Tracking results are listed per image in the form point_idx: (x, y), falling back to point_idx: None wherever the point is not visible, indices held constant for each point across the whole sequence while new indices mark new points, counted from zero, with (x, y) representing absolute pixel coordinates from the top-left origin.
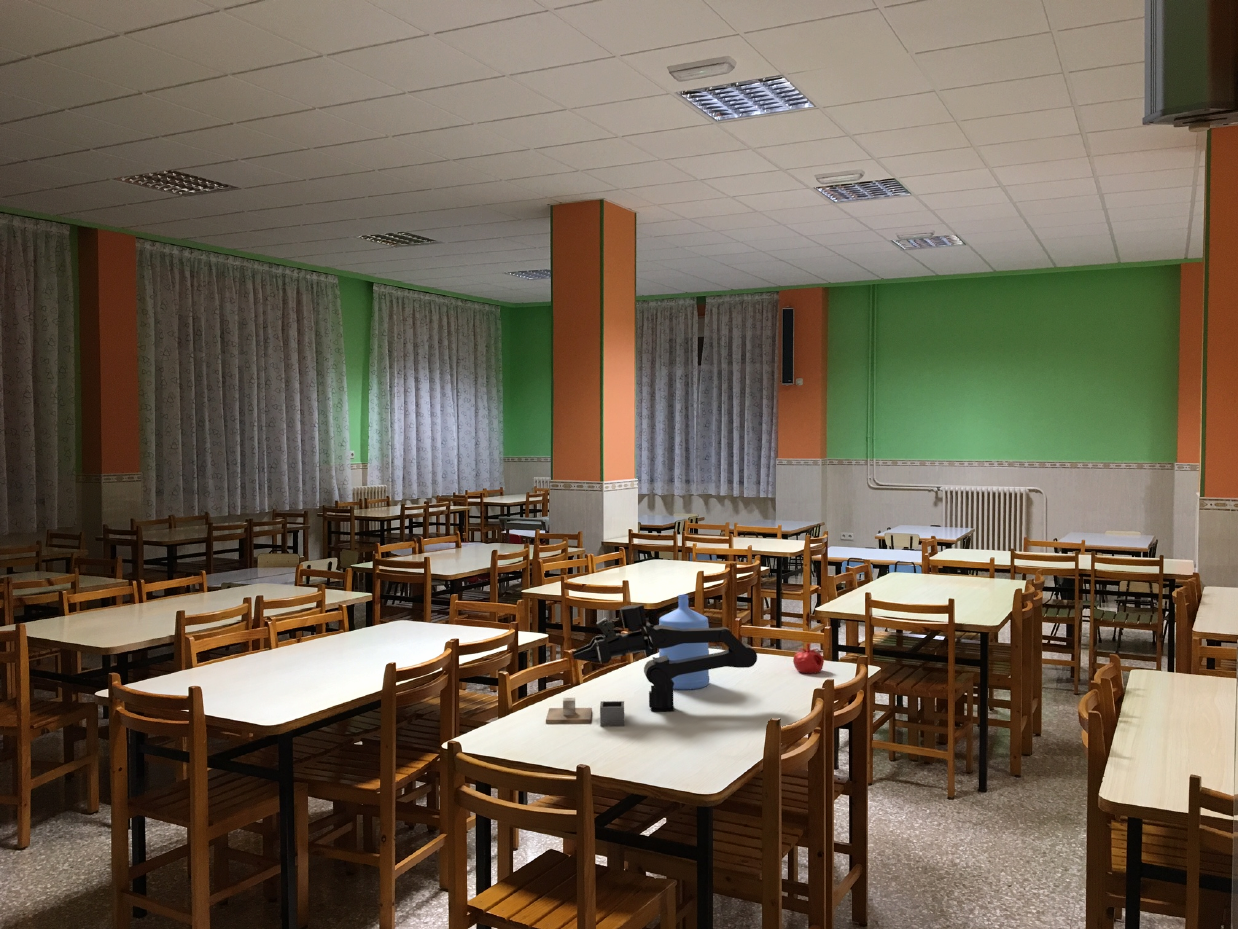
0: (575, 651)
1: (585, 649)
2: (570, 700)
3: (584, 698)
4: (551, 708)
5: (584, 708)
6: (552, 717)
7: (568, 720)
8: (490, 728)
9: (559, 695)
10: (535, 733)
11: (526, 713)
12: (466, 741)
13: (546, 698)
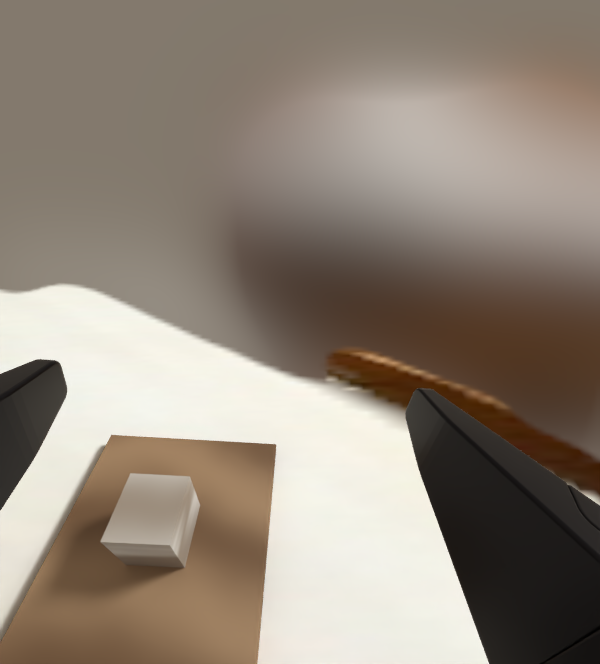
0: (430, 411)
1: (525, 541)
2: (114, 515)
3: None
4: (268, 452)
5: (243, 630)
6: (131, 458)
7: (61, 532)
8: (139, 319)
9: None
10: None
11: (266, 385)
12: (57, 289)
13: None
